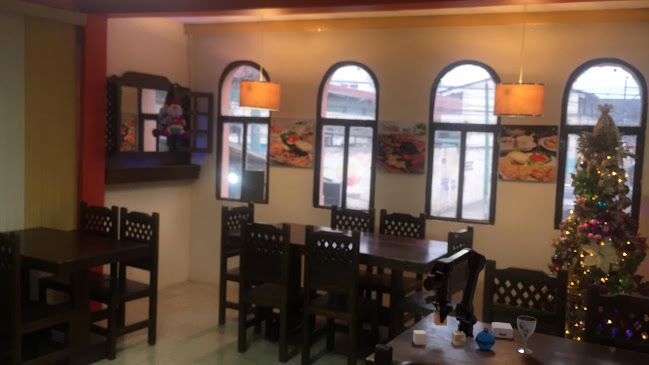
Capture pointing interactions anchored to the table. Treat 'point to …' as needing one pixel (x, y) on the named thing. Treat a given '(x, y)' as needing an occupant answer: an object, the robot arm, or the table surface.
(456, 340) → the birch block
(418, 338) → the grey block
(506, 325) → the charger
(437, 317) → the terracotta block
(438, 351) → the table surface
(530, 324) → the wine glass
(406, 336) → the table surface
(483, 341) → the ornament
